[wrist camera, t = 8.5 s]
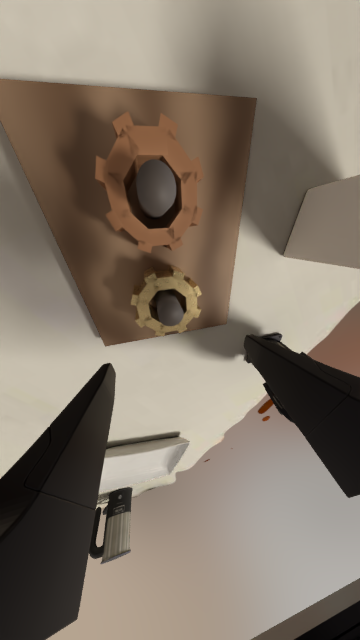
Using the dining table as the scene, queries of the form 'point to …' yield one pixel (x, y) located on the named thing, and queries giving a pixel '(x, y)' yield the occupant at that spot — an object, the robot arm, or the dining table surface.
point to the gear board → (135, 191)
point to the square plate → (141, 462)
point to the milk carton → (328, 225)
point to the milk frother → (113, 527)
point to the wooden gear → (162, 282)
